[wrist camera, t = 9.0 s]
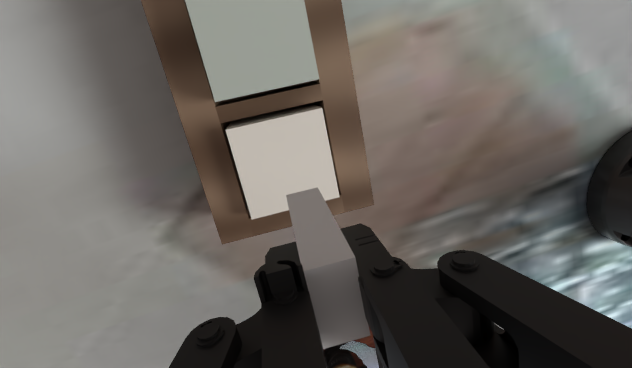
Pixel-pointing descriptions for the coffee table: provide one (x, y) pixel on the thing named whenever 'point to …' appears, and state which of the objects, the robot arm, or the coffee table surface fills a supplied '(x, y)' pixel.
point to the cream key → (282, 157)
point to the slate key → (253, 44)
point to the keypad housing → (214, 117)
